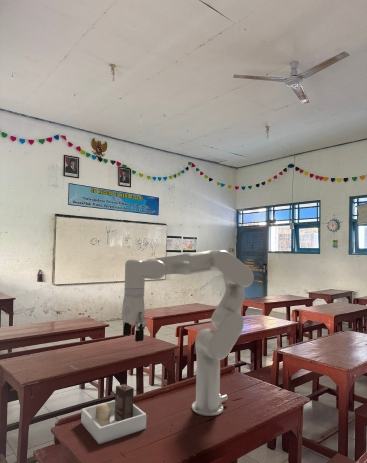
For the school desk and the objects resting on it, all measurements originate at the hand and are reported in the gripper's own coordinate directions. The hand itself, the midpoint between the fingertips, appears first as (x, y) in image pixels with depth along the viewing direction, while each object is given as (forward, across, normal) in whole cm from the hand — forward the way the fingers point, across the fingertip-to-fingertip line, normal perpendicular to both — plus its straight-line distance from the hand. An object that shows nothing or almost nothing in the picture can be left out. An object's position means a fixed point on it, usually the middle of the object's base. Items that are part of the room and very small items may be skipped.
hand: (133, 338), depth 129 cm
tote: (+30, 0, -7) cm, 31 cm away
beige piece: (+30, 0, -11) cm, 32 cm away
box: (+30, 0, -3) cm, 30 cm away
